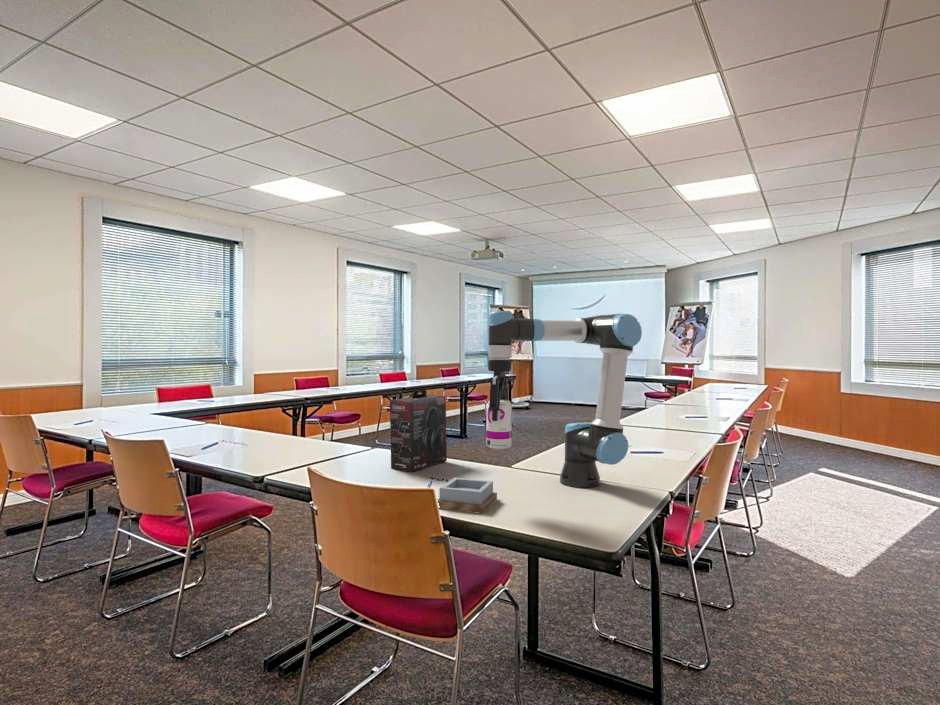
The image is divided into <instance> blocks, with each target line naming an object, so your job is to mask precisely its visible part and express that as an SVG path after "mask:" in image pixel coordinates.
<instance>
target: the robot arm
mask: <svg viewBox="0 0 940 705" xmlns="http://www.w3.org/2000/svg"><path fill="white" fill-rule="evenodd" d="M487 326H488V348H487V349H486V351H487V353H488V360H487V364H488V365H487V368H488V369H487V370H488V371H489V372H493V377H490V379H489V382H490V389H489V400H490V403H489V408H488V410H491V431H500V411H499V406H500V400H509V376H508V375H506V372H507V373H508V372H511V371H512V360H511V359H512V356H513V355H512V354H513V353H512V352H513V351H512V346H513V345H512V343H513V342H532V343H533V342H543V341H545V342H550V341H551V342H554V341H555V342H556V341H557V342H562V341H565V342H569V341H572V342H574V343H576V344H587V345H588V344H589V345H592V346H593V345H595V346H599V350H600V352H602V362H601V369H600V370H601V371H600V378H599V388H598V395H597V401H596V402H597V403H596V410H595V411H596V412H595V419H594V420H592V421H591V422H572V423H570V422H569V423H568V424H566V425H565V428H564V463H563V466H562V469H561V471H560V474H559V482H560V484H562V485H565V486H568V487H573V488H574V487H575V488H594V487H598V486H600V484H601V477H600V472H599V471H598V467H597V463H596V462H599V463H601V464H603V465H605V464H606V465H611V466H613V465H617V464H619V463H620V462H621V461H622V460H623V459H625V457H626V455H627V453H628V451H629V441H628V438H627V437H626V436H625V434H624V427H623V425H622V424H621V414H622V405H623V398H624V397H623V396H624V389H625V380H626V374H627V372H626V371H627V366H628V364H627V363H628V357H629V356H630V355H631V354H633V352H634V351H633V350H634V346H637V344H639V342H640V341H641V339H642V332H643V330H642V327H641V326H642V325H641V323H640V322H639V321H638V319H637V318H636V317H635V316H634V315H632V314H631V313H630V314H628V313H620V312H619V313H614V314H613V313H612V314H601V315H595V316H590V317H588V316H587V317H577V318H575V319H574V320H550V319H549V320H547V319H546V320H541V319H540V318H539V319H538V318H518V317H517V318H515V317H513V312H511V311H508V310H507V311H506V310H496V311H491V312H489V315H488V324H487Z"/></svg>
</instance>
